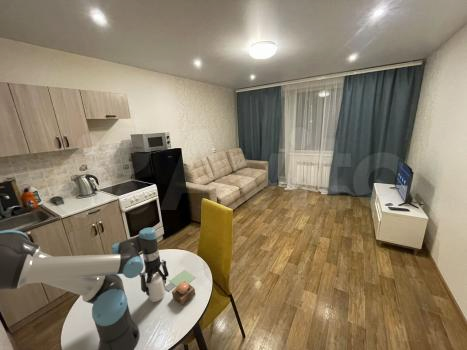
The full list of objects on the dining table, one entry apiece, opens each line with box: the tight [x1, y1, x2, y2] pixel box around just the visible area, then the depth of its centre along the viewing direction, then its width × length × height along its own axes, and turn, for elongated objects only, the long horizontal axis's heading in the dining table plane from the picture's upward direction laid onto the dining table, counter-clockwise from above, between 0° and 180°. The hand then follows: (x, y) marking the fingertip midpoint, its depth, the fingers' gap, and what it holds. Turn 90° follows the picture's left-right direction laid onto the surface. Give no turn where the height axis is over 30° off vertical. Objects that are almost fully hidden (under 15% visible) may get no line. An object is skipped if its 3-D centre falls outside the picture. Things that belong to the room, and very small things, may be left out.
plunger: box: [176, 282, 190, 296], centre depth 103 cm, size 6×6×6 cm
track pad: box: [165, 282, 176, 293], centre depth 110 cm, size 4×4×1 cm
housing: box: [171, 281, 196, 307], centre depth 103 cm, size 8×8×4 cm
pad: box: [169, 269, 197, 288], centre depth 115 cm, size 11×11×1 cm
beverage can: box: [145, 272, 166, 303], centre depth 102 cm, size 8×8×12 cm
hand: (157, 293), depth 104 cm, fingers closed on beverage can, 7 cm apart
